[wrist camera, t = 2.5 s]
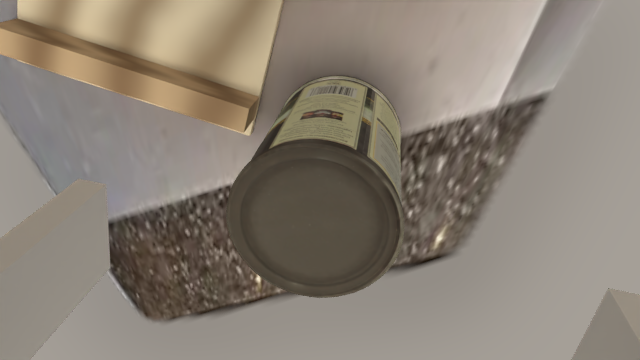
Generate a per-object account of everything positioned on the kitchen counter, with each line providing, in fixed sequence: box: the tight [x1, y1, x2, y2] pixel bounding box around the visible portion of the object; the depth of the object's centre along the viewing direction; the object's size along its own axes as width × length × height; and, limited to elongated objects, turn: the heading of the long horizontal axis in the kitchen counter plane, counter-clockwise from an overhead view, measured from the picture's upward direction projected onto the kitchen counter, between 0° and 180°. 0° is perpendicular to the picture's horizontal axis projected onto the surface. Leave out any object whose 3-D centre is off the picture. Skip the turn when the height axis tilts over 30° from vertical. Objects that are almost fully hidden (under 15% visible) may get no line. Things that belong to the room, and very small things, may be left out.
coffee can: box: [226, 76, 404, 298], centre depth 35 cm, size 10×10×14 cm
